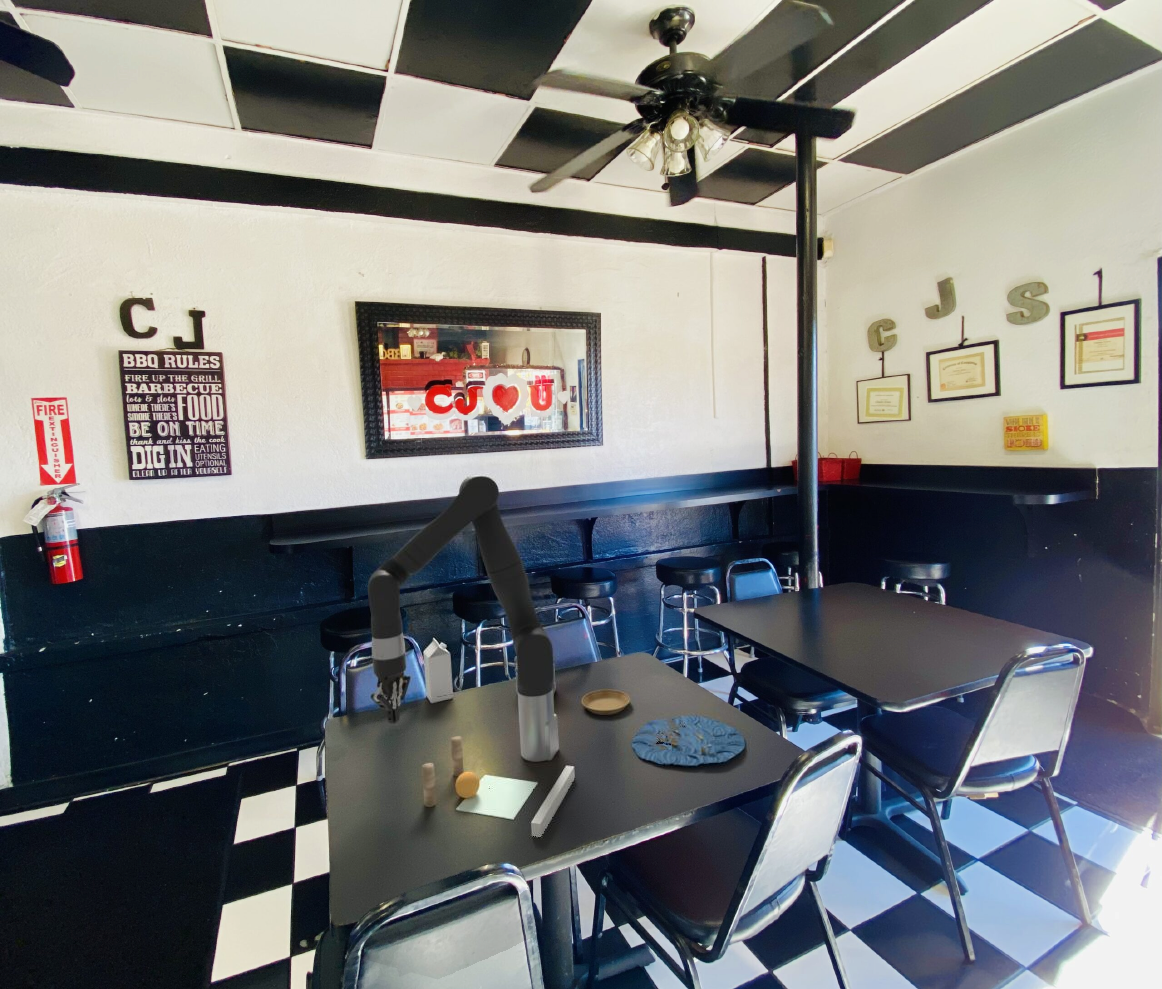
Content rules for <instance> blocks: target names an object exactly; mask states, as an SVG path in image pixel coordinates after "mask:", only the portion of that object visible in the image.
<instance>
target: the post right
mask: <svg viewBox="0 0 1162 989" xmlns="http://www.w3.org/2000/svg"><path fill="white" fill-rule="evenodd" d="M462 740H463V739H462V736H460V735H457V736H453V737H451V738H450V747H451V762H452V776H454V777H459V776H460V775H461V774H462V773H464V772H465V771H464V758H463V757H464V755H463V743H462V742H463V741H462Z"/></svg>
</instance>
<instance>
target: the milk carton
mask: <svg viewBox="0 0 1162 989" xmlns="http://www.w3.org/2000/svg"><path fill="white" fill-rule="evenodd" d="M446 648H447V644H445V643H444V642H440V644H439V642H438V641H437V640H436V639H435V638H434V637H433V638H432V641H431V643H430V644H429V645H428V646H427V647H426V648H425V649H424V651H423V665H424V678H425V679H424V681H425V694H426V697H427V699H428V700H429V702H430V703H431V704H435V703H438V702H443V701H446V700H451V699H453V698H454V692H453V689H454V688H453V677H452V676H453V675H452V660H451V652H449V651H448V650H447V649H446ZM449 694H453V695H449ZM443 695H447V696H443ZM437 696H442V697H437Z"/></svg>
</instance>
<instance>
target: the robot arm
mask: <svg viewBox="0 0 1162 989" xmlns="http://www.w3.org/2000/svg"><path fill="white" fill-rule="evenodd" d="M499 495H500V490H499V486H498V484H497V482H496V481H495V480H494V479H493V478H491V477H489V476H487V475H484V474H472V475H469V476H467V477H466V478H464V479H463V481H462V482H461V484H460V486H459V491H458V494H457V496H456V497H454V499H453V501H452V502H451V503H450V504H449V505H448V507H447V508H446V509H444V511H442V512H441V513H440V514H439V515H438V516H437V517H436V518H435V519H433V520H432V521H431V522H429V523H428V524H427V525H425V526H424V527H423V528H421V530H420V531H418V532H417V533H416V534H415V535H414V536H413V537H412V538H410V539H409V540H408V541H407V542H406V543H405V544H404V545H403V546H402V547H401V548H400V549H398V551H397V552H396V554H395V555H393V556H392V557H391V558H389V559H388V560H387V561H385V562H384V563H383V564H381V565H380V566H379V567H378V568H377V569H376V570H375V571H374V572H373V573H372V574H371V575H370V577H369V579H368V584H367V594H368V595H367V596H368V602H369V603H368V604H369V610H370V614H371V616H370V627H371V655H372V656H371V657H372V670H373V674H374V675H375V677H377V683H376V687H377V689H376V691H375V693H371V695H370V699H371V700H372V701H373V702H374V703H375V705H377V706H378V708H379V709H381V710H386V714H387V715H386V716H387V722H388V723H389V724H397V723H398V722H399V721H400V716H401V714H400V706H401V704H402V703H401V702H402V701H404V700H405V697H406V695H407V693H408V692H407V691H408V688H409V686H410V682H411V676H410V675H406V674H405V671H406V669H407V659H406V656H407V655H406V646H405V644H406V643H405V638H404V633H403V630H404V629H403V621H402V620H403V619H402V615H401V611H400V610H401V606H400V605H401V604H400V603H401V602H400V588H401V587H402V585H403V584H404V583H406V581H407V580H409V579H410V578H411V577H412V576H413V575H416V574H417V573H420V572H421V571H422V570H423V568H425V567H426V566H427V565H428V564H429V563H430V562H431V561H432V560H433V559H434V558H435V557H436V556H437V555H438V554H439V552H441V550H443V549H444V547H445V546H446V545H447V544H448V543H449V542H450V541H452V539H453V538H454V537H456V536H457V535H458V534H459V533H460V532H461V531H462V530H463V529H464V528H466V527H468V525H470V524H472V525H473V528H474V531H475V534H476V538H477V543H478V546H479V549H480V554H481V557H482V561H483V564H484V567H485V570H486V571H485V572H486V573H487V576H488V580H489V582H490V584H491V587H492V590H493V592H494V594H495V596H496V597H497V600H498V601H499V604H500V605H501V607H502V609H503V611H504V613H505V616H506V618H507V621H508V624H509V630H510V634H511V637H512V641H513V647H514V648H513V649H514V652H515V654H516V656H517V669H518V681H517V684H516V686H517V690H518V695H517V705H518V723H519V724H518V726H519V738H520V739H519V740H520V755H521V757H522V758H523V759H524V760H525V761H528V762H533V763H534V762H535V763H536V762H543V761H545V762H546V761H552V760H553V758H554V756H555V755H556V754H557V753H558V751H559V749H560V746H559V745H560V742H559V727H558V725H559V723H558V714H556V713H555V706H554V705H555V700H554V694H553V679H554V666H553V664H554V659H553V654H554V651H553V650H554V649H553V643H552V640H550V638H549V635H548V633H547V632H546V631H545V629H544V627H543V626H542V624H541V622H540V619H539V618H538V615H537V613H536V611H535V609H534V605H533V603H532V596H531V590H530V584H529V579H528V576H527V573H526V572H527V571H526V569H525V566H524V563H523V560H522V558H521V555H520V554H519V553H520V552H519V551H518V549H517V547H516V545H515V543H514V540H513V539H512V537H511V535H510V534H509V532H508V530H507V528H506V526H505V525H504V522H503V519H502V516H501V513H500V509H499V506H498V499H499V497H500V496H499Z"/></svg>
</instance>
